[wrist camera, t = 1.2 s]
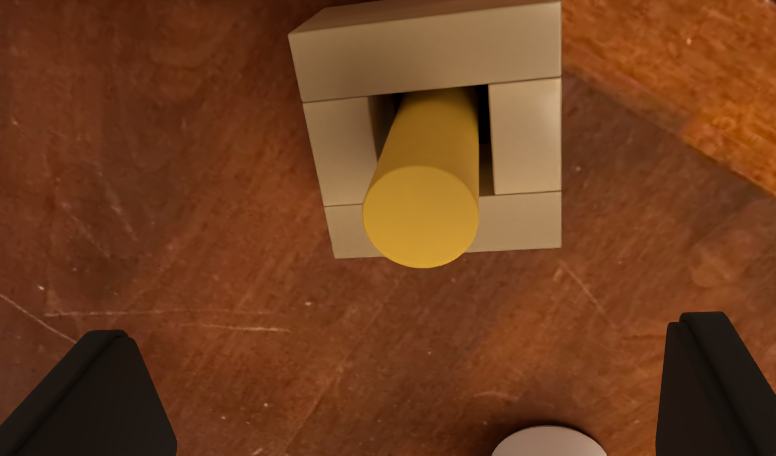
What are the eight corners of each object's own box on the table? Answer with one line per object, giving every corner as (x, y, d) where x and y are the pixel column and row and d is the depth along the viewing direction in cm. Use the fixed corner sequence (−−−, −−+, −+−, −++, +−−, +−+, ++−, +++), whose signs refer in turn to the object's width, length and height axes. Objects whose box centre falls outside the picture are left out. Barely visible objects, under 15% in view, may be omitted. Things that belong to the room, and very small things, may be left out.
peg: (399, 68, 23) (352, 169, 14) (475, 60, 23) (474, 160, 14) (408, 140, 25) (371, 271, 16) (480, 133, 24) (482, 266, 15)
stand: (323, 7, 22) (286, 34, 18) (544, -22, 21) (561, 0, 17) (358, 199, 26) (334, 259, 22) (546, 187, 25) (561, 248, 20)
